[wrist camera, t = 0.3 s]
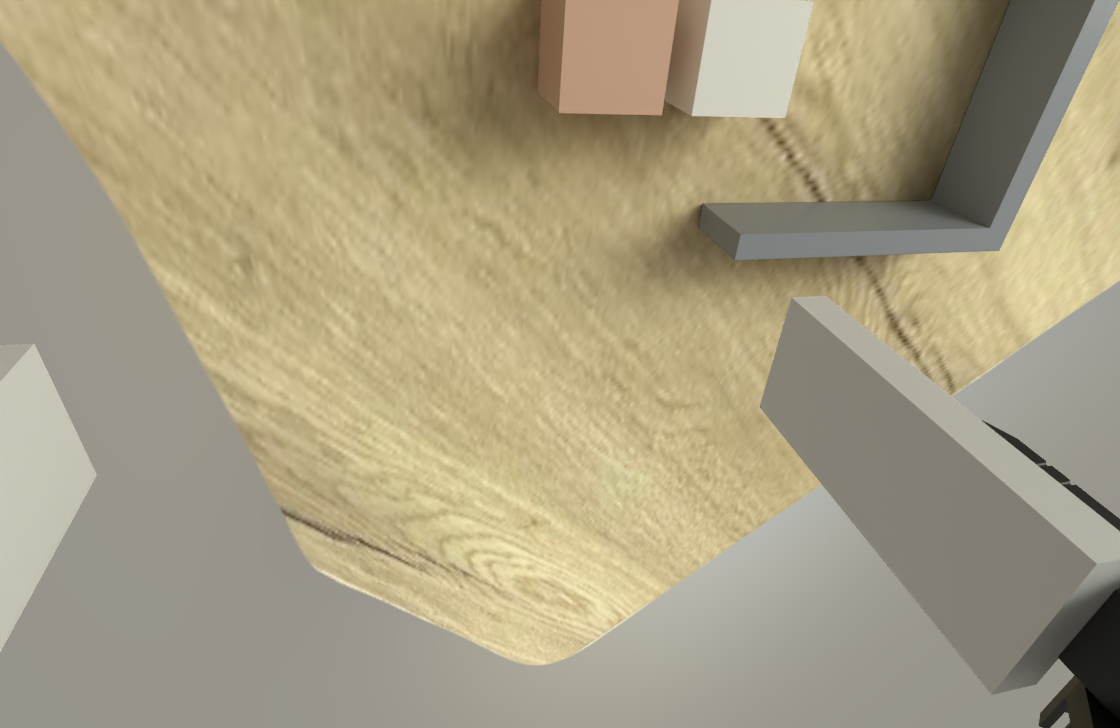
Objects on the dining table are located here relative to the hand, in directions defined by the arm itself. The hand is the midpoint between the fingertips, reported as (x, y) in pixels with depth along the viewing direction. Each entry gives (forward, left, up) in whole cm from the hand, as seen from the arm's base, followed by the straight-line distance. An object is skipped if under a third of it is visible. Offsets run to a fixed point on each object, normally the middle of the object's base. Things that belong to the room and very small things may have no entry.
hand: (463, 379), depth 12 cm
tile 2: (-3, +15, -24) cm, 29 cm away
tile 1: (-3, +9, -24) cm, 26 cm away
